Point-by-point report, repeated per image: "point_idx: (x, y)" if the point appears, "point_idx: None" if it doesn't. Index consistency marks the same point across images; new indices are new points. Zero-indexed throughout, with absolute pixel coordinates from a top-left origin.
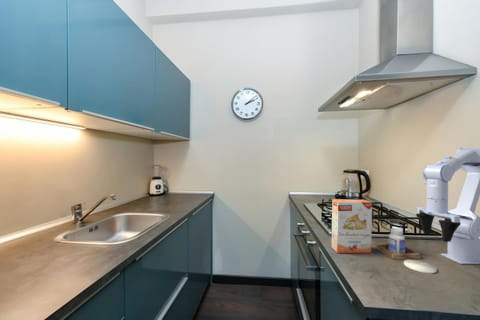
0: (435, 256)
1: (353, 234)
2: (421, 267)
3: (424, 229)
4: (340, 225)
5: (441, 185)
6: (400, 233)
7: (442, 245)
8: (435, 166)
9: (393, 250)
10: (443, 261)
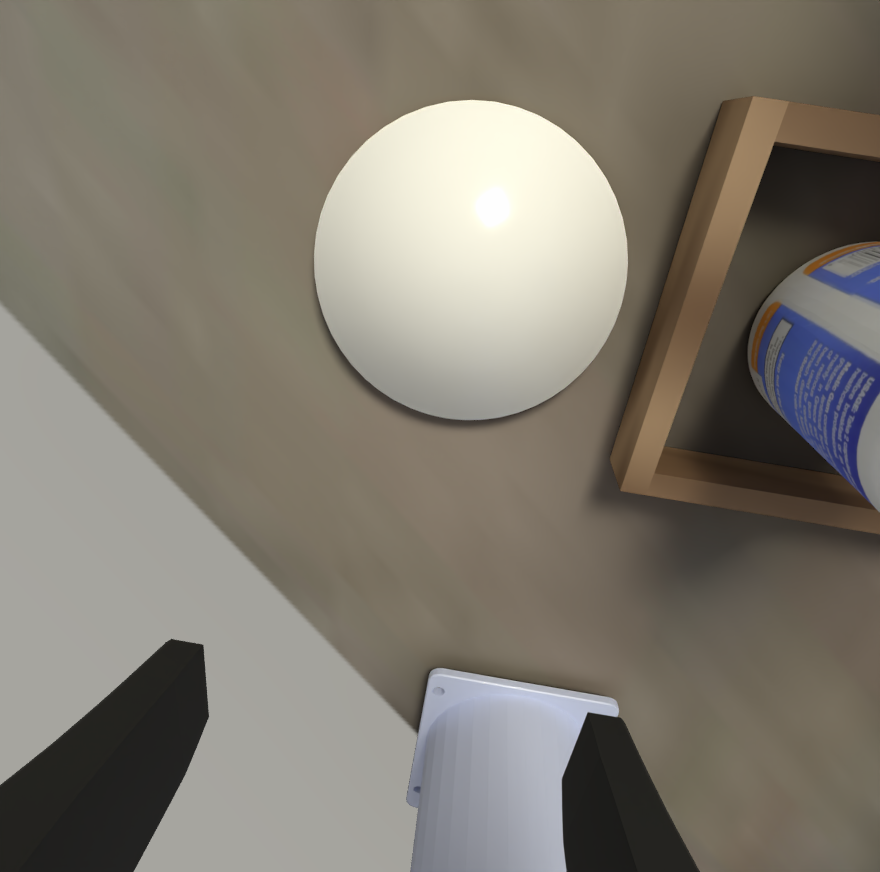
0: (621, 644)
1: None
2: (414, 245)
3: (608, 797)
4: None
5: None
6: None
7: (763, 868)
8: None
9: (865, 260)
10: (522, 610)
